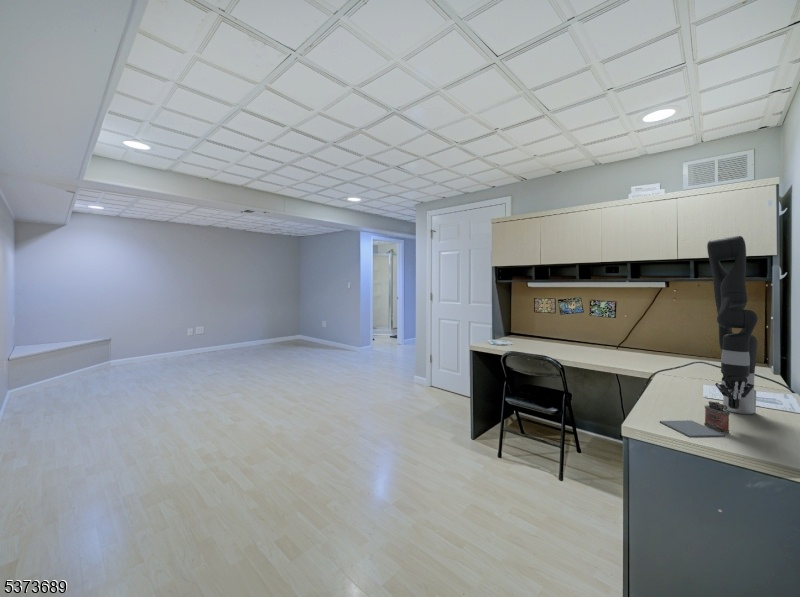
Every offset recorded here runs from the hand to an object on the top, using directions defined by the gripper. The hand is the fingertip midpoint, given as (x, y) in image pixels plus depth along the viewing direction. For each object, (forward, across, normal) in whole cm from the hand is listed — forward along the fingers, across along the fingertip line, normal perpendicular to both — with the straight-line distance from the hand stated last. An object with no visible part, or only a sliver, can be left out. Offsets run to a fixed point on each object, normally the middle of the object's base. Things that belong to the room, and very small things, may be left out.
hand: (733, 408), depth 125 cm
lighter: (+8, +6, 0) cm, 10 cm away
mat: (+8, +16, 0) cm, 18 cm away
